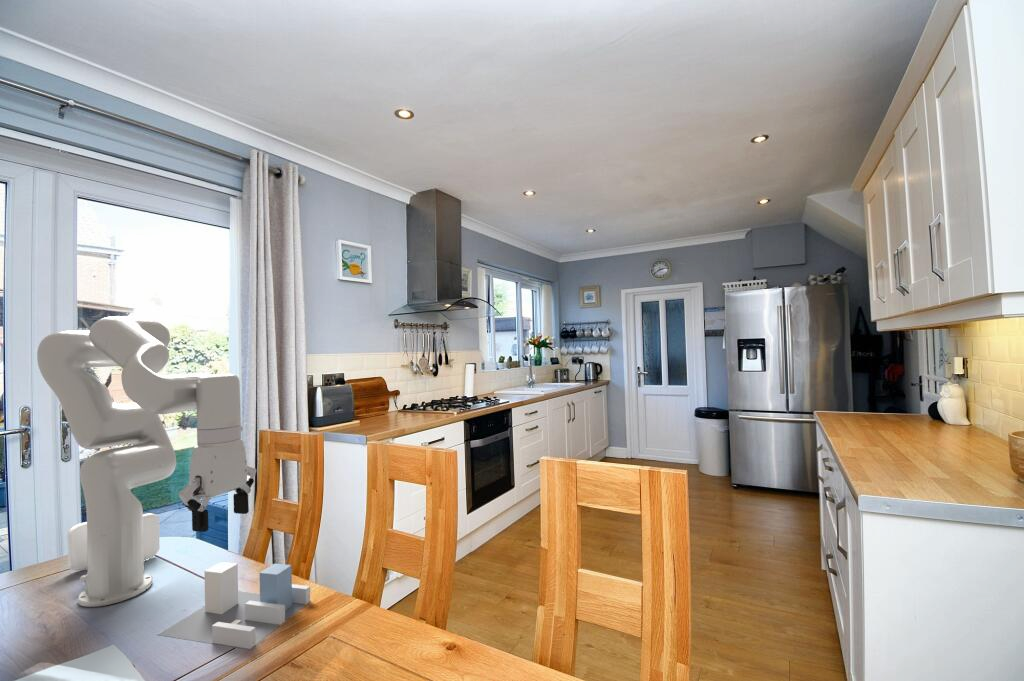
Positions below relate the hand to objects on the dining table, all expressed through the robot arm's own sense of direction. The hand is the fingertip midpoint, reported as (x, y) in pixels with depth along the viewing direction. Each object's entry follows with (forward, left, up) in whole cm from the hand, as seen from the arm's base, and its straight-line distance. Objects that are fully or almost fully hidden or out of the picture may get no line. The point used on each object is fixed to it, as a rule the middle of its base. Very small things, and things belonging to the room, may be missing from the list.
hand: (221, 521), depth 95 cm
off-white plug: (0, 0, -17) cm, 17 cm away
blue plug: (+11, +2, -17) cm, 21 cm away
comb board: (+6, -2, -19) cm, 20 cm away
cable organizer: (-46, +13, -19) cm, 52 cm away
